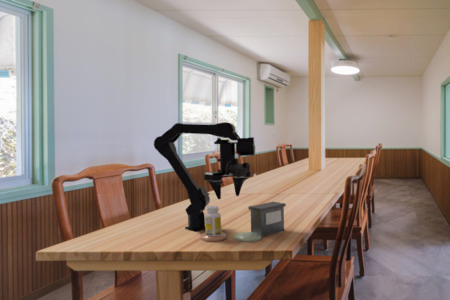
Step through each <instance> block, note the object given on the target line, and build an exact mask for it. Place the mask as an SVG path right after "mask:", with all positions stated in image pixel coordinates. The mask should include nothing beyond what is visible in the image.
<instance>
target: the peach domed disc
mask: <svg viewBox="0 0 450 300" xmlns="http://www.w3.org/2000/svg"><path fill="white" fill-rule="evenodd" d="M199 237H200V240H201V241H202V242H203V241H204V242H208V243H209V242H211V243H213V242H214V243H215V242H220V241H224V240H226V239H227V233H225V232H223V231H221V235H220V236H216V237H209V236H206V232H204V233H201V234H200V236H199Z"/></svg>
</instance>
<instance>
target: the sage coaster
mask: <svg viewBox="0 0 450 300" xmlns="http://www.w3.org/2000/svg"><path fill="white" fill-rule="evenodd" d="M234 240H235V241H238V242H243V243H255V242H259V241H261V240H262V237H261V234H258V233H253V232H251V231H244V232H238V233H236V234H234Z"/></svg>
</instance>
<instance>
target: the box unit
mask: <svg viewBox="0 0 450 300" xmlns="http://www.w3.org/2000/svg"><path fill="white" fill-rule="evenodd" d="M286 206H287V205H286V203H284V202H277V201H270V202H265V203H259V204H256V205H251V206H248V210H249V211H250V232H253V233H258V234H261V238H265V237H268V236H271V235H273V234H274V235H275V234H277V233H282V232H284V231H285V215H284V214H285V213H284V212H285V210H284V208H285V207H286Z"/></svg>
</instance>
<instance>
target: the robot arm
mask: <svg viewBox="0 0 450 300" xmlns="http://www.w3.org/2000/svg"><path fill="white" fill-rule="evenodd" d="M182 134H190V135H191V134H193V135H194V134H195V135H211V136H214V137H218V138H217V139H216V141H214V142H213V143H214V144H215V145H219V158H217V162H218V163H219V167H220V169H218V170H217V171H208V172H207V171H206V172H205V173H204V175H203V179H204V181H207V183H208V184H209V185H210V186H211V188H212V190H213V191H214V194H215V195H216V198H217V199H218V200H221V196H222V188H221V187H222V184H223V183H224V181H223V180H222V179H223V178H230V177H232V181H233V185H234V187H233V188H234V193H235V196H236V197H239V196H240V193H241V190H242V187H243V184H244V182H245V181H246V180H248V179H249V177H251V167H250V163H249V162H243V163H239V160H238V158H236V154H238V155H239V156H240V157H241V156H243V157H250V156H256V145H255V137H251V136H250V137H240V135H239V134H238V133H237V131H236V127H235V126H234V124H233V123H231V122H218V123H211V124H196V123H195V124H193V123H180V122H176V123H174V124H173V125H172V127H170V128H169V129H167V130H166V131H165V132H164V133H163V134H162V135H158V136H156V138H155V139H154V141H153V147H154V149H155V150H156V152H158V153H159V154H160V155H161V156H162V157H164V158H165V159H166V160H167V161H168V163H169V165H170V166H171V168H172V169H173V171H174V172H175V174H176V176H177V177H178V179H179V180H180V181H181V183H182V185H183V186H184V188H185V190H186V191H187V195H188V199H189V202H190V204H189V205H188V206H187V207H186V208H185V213H186V215H187V219H188V221H187V222H188V223H187V225H188V226H185V227H184V229H186V230H189V231H193V232H196V231H200V230H206V229H205V212H204V211H205V209H206V208H207V207H208V206H209V204H210V201H211V198H210V193H209V192H208V191H207V189H206V186H204V185H203V186H199V185H198V184H197V183H196V181H195V179H194V177H192V174H191V173H190V172H189V170H188V169H187V167H186V165H185V164H184V162H183V161H182V159H181V158H180V156H179V154H178V150H177V147H176V145H175V143H176V142H177V140H178V139H179V138H180V137H181V135H182ZM222 138H223V139H222ZM230 140H231V141H230ZM233 141H234V142H233ZM235 141H236V142H235Z"/></svg>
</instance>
